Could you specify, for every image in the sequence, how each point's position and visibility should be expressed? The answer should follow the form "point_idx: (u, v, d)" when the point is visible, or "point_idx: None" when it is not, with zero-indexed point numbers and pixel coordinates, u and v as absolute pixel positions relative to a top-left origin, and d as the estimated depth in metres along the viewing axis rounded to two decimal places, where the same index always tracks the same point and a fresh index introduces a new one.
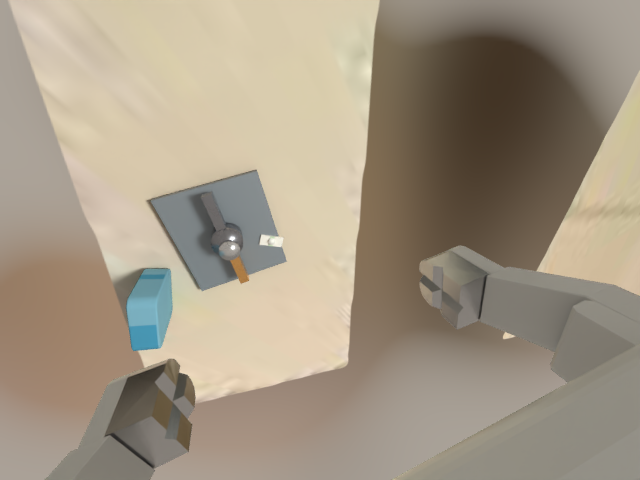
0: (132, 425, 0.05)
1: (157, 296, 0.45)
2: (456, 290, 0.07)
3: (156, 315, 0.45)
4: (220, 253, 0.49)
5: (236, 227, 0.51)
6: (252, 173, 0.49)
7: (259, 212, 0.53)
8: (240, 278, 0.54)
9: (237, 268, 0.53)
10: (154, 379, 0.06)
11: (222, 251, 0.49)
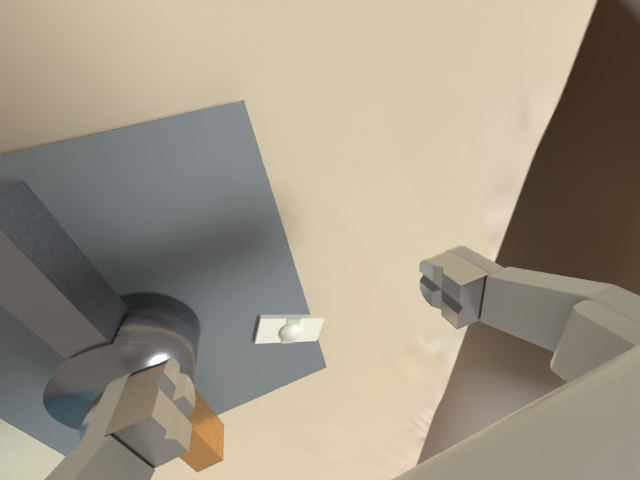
0: (132, 425, 0.05)
1: None
2: (456, 290, 0.07)
3: None
4: None
5: (171, 314, 0.14)
6: (225, 109, 0.12)
7: (253, 253, 0.16)
8: (193, 463, 0.17)
9: None
10: (154, 379, 0.06)
11: None
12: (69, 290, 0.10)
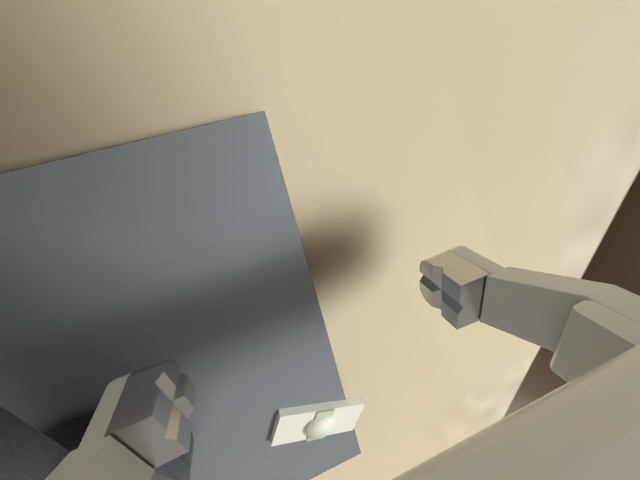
0: (132, 425, 0.05)
1: None
2: (456, 290, 0.07)
3: None
4: None
5: None
6: (232, 127, 0.07)
7: (272, 335, 0.11)
8: None
9: None
10: (154, 379, 0.06)
11: None
12: None
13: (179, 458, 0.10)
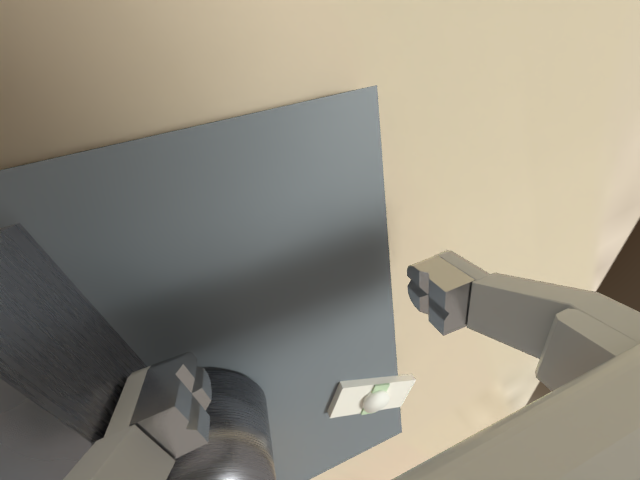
0: (156, 415, 0.06)
1: None
2: (441, 296, 0.07)
3: None
4: None
5: (239, 405, 0.09)
6: (348, 99, 0.08)
7: (347, 305, 0.11)
8: None
9: None
10: (174, 371, 0.06)
11: None
12: (101, 425, 0.05)
13: (264, 418, 0.10)
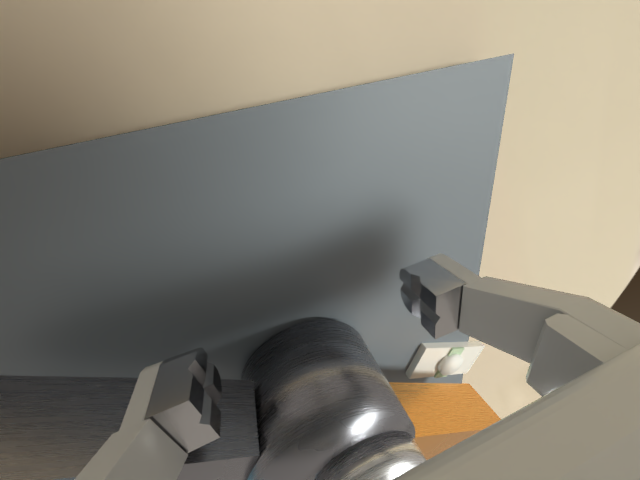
0: (170, 409, 0.06)
1: None
2: (432, 300, 0.07)
3: None
4: None
5: (302, 350, 0.09)
6: (489, 65, 0.09)
7: None
8: None
9: None
10: (187, 366, 0.06)
11: None
12: None
13: (340, 343, 0.10)
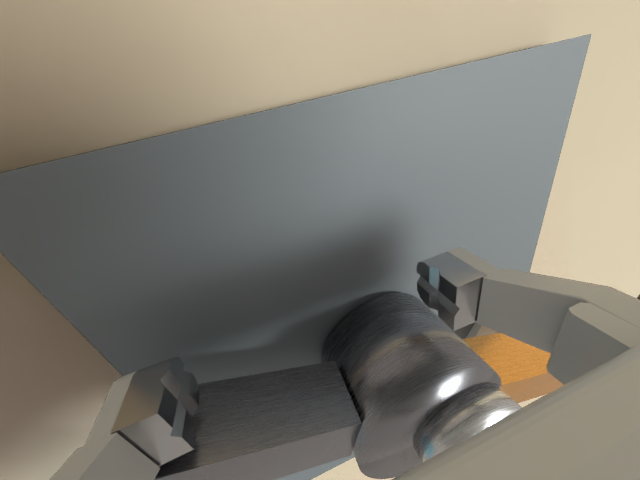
0: (138, 423, 0.05)
1: None
2: (452, 291, 0.07)
3: None
4: None
5: (373, 327, 0.10)
6: (569, 46, 0.09)
7: (506, 242, 0.13)
8: None
9: (532, 392, 0.12)
10: (159, 377, 0.06)
11: None
12: (269, 433, 0.07)
13: (406, 313, 0.10)
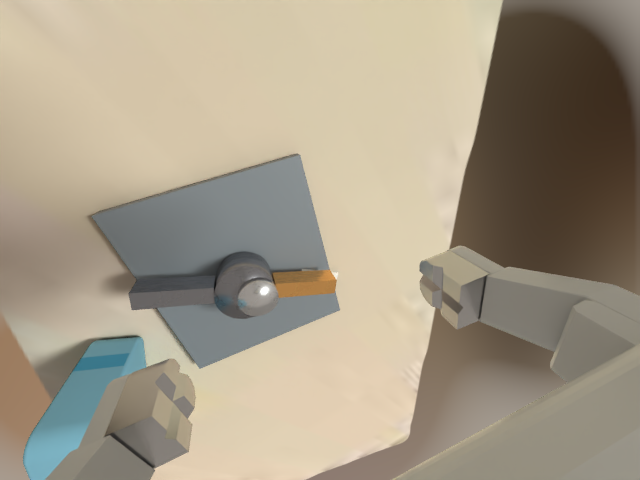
0: (132, 425, 0.05)
1: None
2: (456, 290, 0.07)
3: None
4: (256, 314, 0.26)
5: (228, 262, 0.26)
6: (291, 159, 0.26)
7: (300, 231, 0.29)
8: (324, 291, 0.29)
9: (303, 291, 0.28)
10: (154, 379, 0.06)
11: (253, 310, 0.25)
12: (181, 287, 0.24)
13: (242, 257, 0.27)
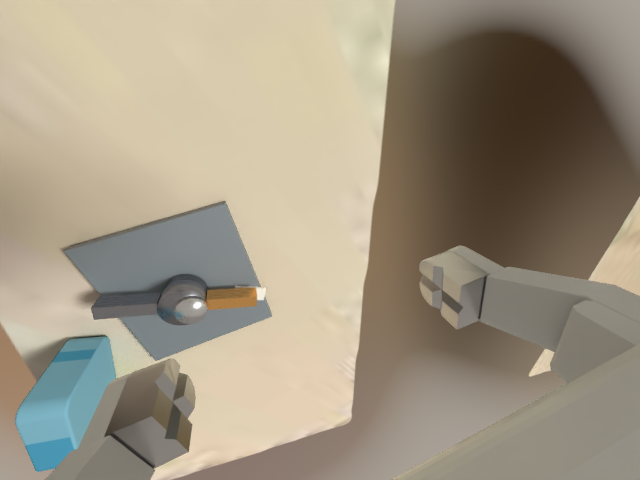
0: (132, 425, 0.05)
1: (70, 397, 0.30)
2: (456, 290, 0.07)
3: (68, 425, 0.30)
4: (190, 322, 0.35)
5: (170, 282, 0.35)
6: (218, 207, 0.34)
7: (230, 257, 0.38)
8: (248, 305, 0.38)
9: (230, 305, 0.37)
10: (154, 379, 0.06)
11: (187, 319, 0.34)
12: (131, 303, 0.33)
13: (182, 279, 0.35)
